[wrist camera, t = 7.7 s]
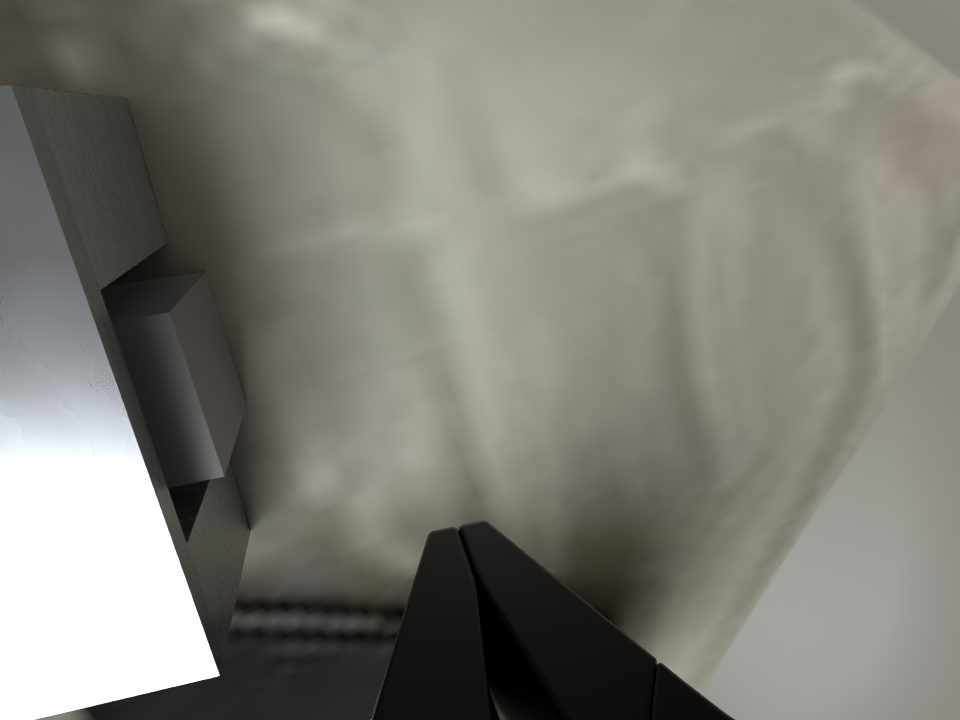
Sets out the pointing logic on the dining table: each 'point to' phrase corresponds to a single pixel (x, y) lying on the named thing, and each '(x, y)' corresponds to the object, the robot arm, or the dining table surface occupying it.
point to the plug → (180, 372)
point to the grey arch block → (91, 434)
